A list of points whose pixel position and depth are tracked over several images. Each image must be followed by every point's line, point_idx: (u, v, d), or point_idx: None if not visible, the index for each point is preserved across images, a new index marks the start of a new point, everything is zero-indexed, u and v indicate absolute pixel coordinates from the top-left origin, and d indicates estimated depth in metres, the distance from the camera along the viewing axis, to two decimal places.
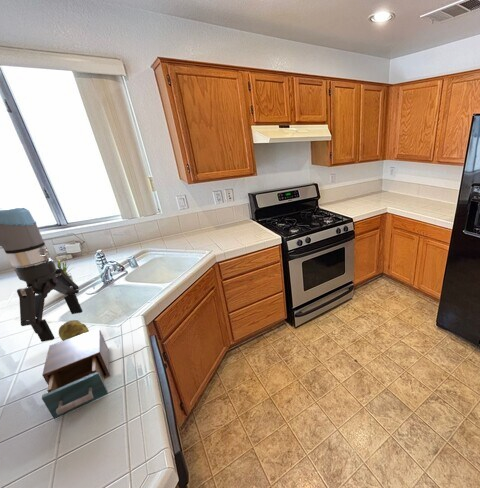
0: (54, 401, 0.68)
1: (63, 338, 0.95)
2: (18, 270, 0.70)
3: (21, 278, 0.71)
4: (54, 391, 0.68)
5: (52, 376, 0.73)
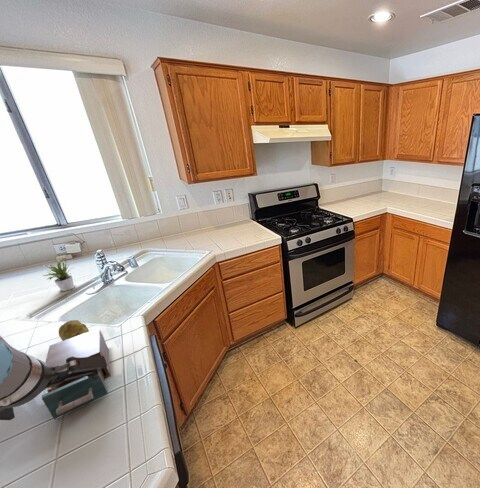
0: (54, 401, 0.68)
1: (63, 338, 0.95)
2: None
3: None
4: (54, 391, 0.68)
5: None
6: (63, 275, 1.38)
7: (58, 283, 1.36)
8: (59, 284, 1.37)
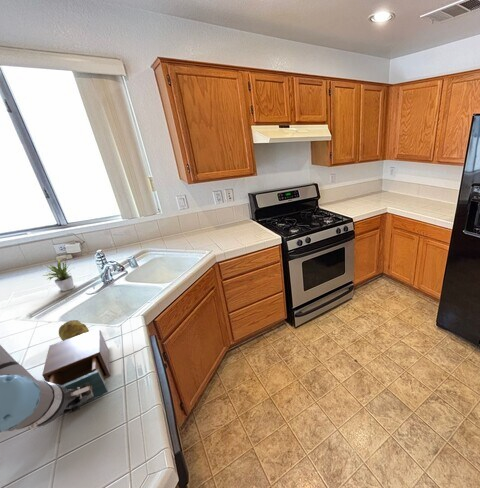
0: None
1: (63, 338, 0.95)
2: None
3: None
4: None
5: (52, 374, 0.74)
6: (63, 275, 1.38)
7: (58, 283, 1.36)
8: (59, 284, 1.37)
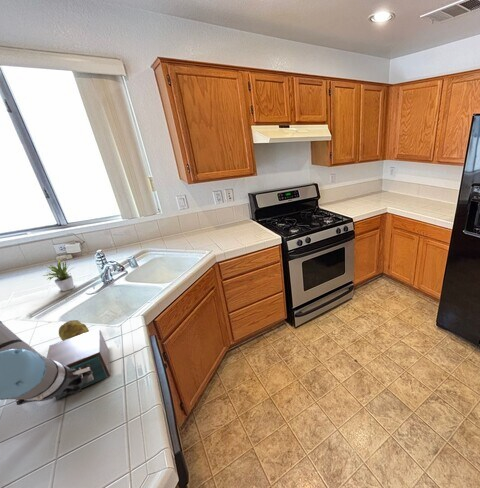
0: None
1: (63, 338, 0.95)
2: None
3: None
4: None
5: None
6: (63, 275, 1.38)
7: (58, 283, 1.36)
8: (59, 284, 1.37)
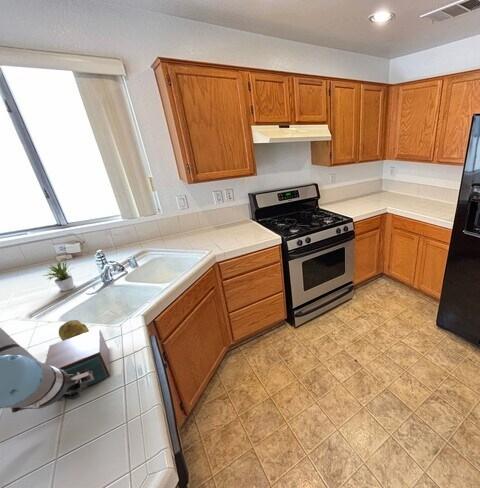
0: None
1: (63, 338, 0.95)
2: None
3: None
4: None
5: None
6: (63, 275, 1.38)
7: (58, 283, 1.36)
8: (59, 284, 1.37)
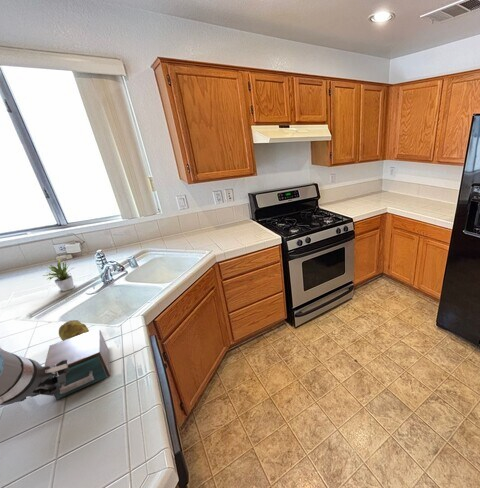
0: None
1: (63, 338, 0.95)
2: None
3: None
4: None
5: None
6: (63, 275, 1.38)
7: (58, 283, 1.36)
8: (59, 284, 1.37)
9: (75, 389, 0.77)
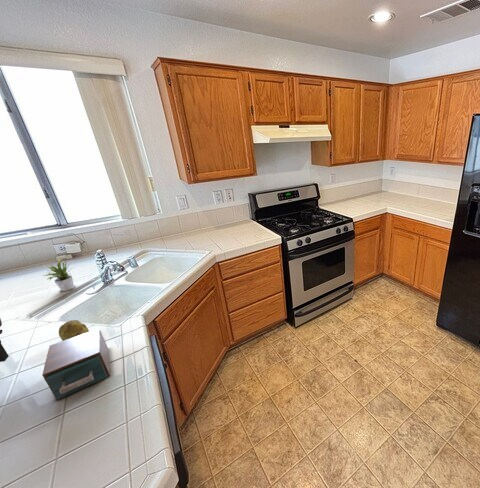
0: (57, 382, 0.74)
1: (63, 338, 0.95)
2: None
3: None
4: (57, 373, 0.74)
5: None
6: (63, 275, 1.38)
7: (58, 283, 1.36)
8: (59, 284, 1.37)
9: (75, 389, 0.77)
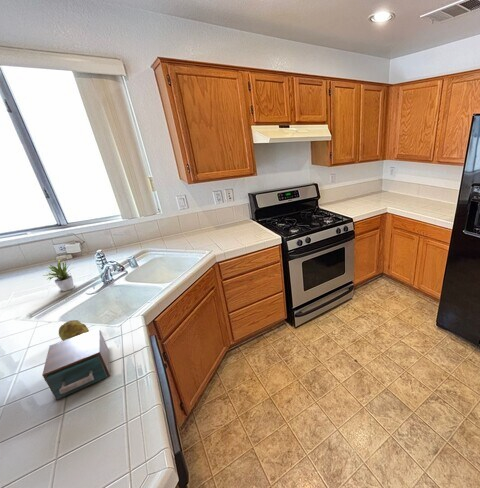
0: (57, 382, 0.74)
1: (63, 338, 0.95)
2: None
3: None
4: (57, 373, 0.74)
5: None
6: (63, 275, 1.38)
7: (58, 283, 1.36)
8: (59, 284, 1.37)
9: (75, 389, 0.77)
